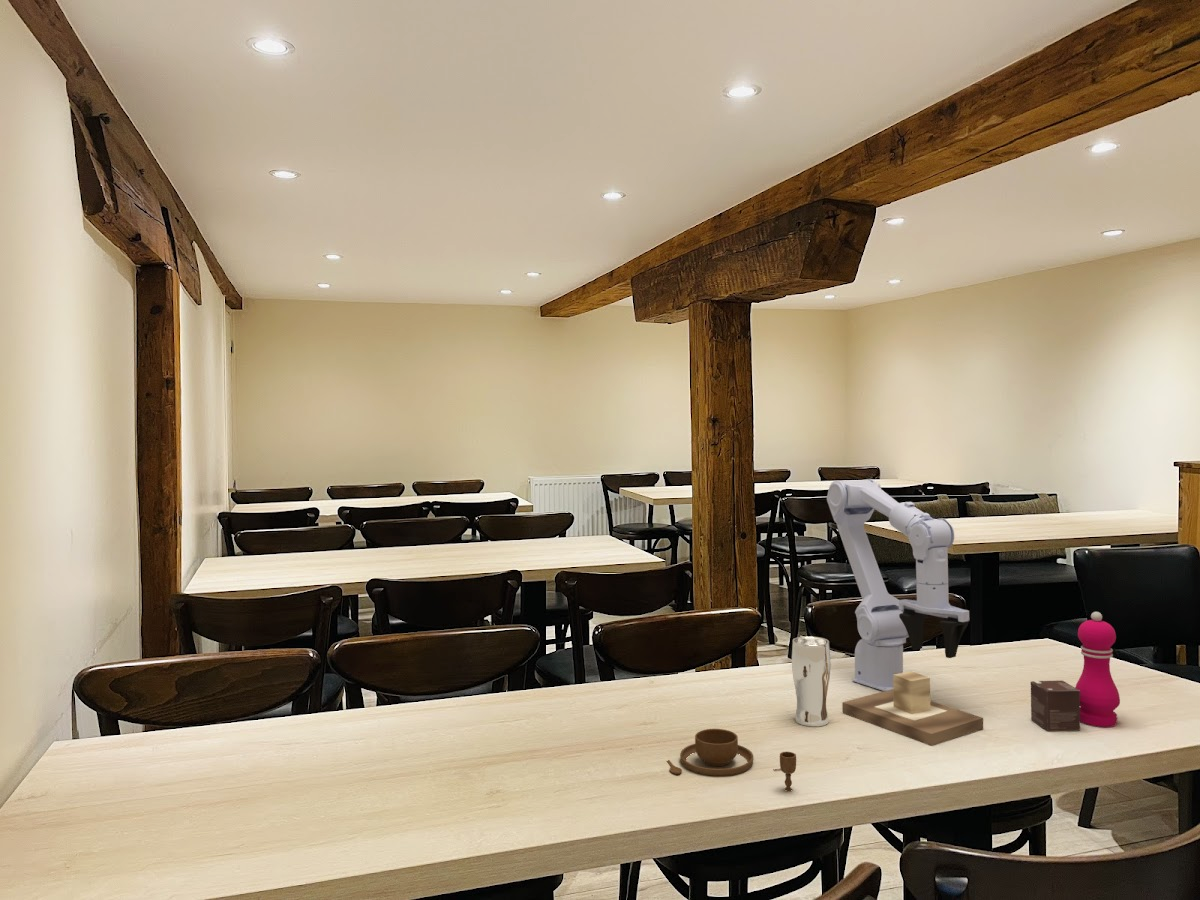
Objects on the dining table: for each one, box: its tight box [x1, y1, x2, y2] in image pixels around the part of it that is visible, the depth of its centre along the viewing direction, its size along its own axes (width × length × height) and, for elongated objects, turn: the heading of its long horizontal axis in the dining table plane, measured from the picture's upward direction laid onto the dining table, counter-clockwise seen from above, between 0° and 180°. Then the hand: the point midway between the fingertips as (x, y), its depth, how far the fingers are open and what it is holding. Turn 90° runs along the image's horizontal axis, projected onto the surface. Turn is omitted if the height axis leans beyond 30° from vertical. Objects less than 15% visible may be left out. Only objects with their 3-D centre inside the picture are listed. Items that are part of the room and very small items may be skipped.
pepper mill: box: [1074, 611, 1121, 728], centre depth 156 cm, size 7×7×20 cm
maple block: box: [893, 670, 931, 714], centre depth 158 cm, size 4×4×6 cm
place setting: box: [666, 728, 797, 792], centre depth 137 cm, size 18×20×6 cm
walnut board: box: [841, 689, 984, 746], centre depth 158 cm, size 20×14×2 cm
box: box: [1030, 680, 1081, 732], centre depth 155 cm, size 6×6×7 cm
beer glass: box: [791, 635, 832, 728], centre depth 159 cm, size 7×7×15 cm
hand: (933, 653), depth 165 cm, fingers open, 7 cm apart
